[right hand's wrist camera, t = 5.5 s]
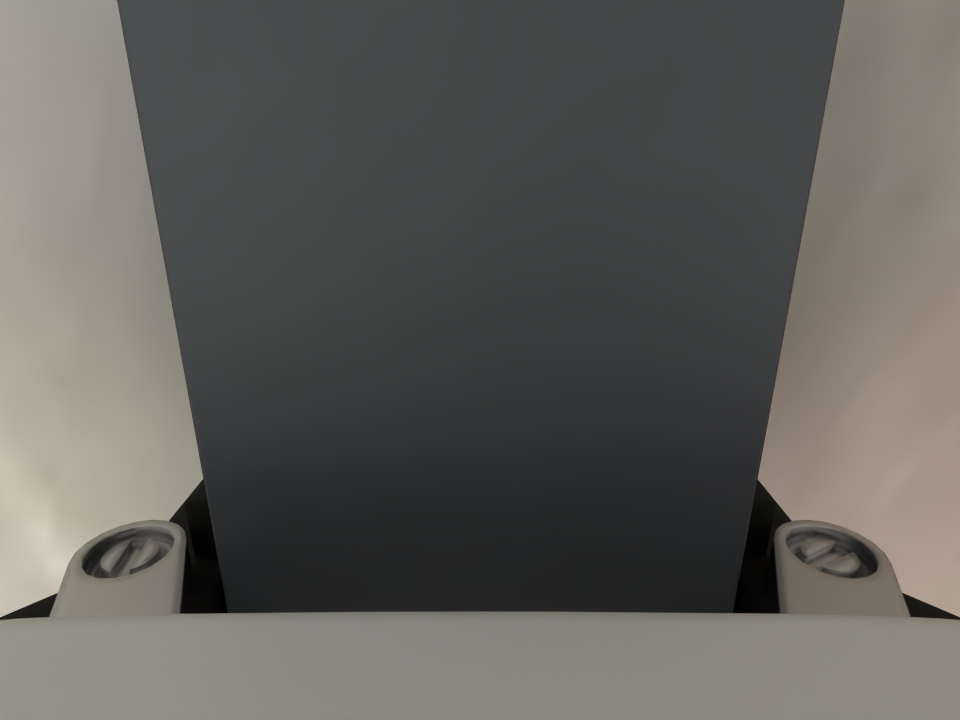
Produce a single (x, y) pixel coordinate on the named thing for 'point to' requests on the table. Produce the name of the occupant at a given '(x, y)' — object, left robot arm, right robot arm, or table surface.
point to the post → (480, 287)
